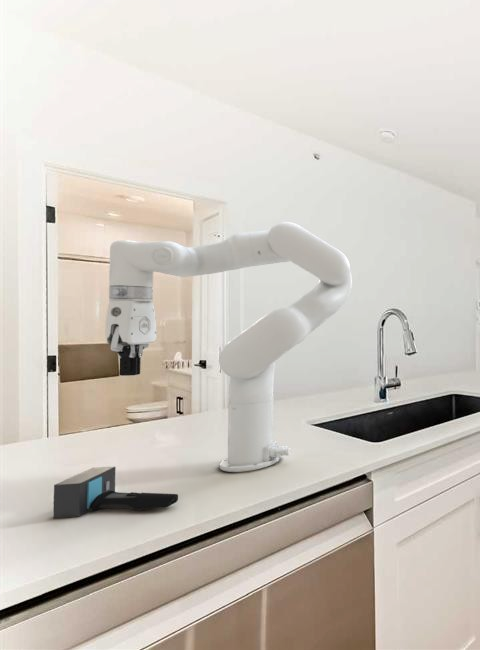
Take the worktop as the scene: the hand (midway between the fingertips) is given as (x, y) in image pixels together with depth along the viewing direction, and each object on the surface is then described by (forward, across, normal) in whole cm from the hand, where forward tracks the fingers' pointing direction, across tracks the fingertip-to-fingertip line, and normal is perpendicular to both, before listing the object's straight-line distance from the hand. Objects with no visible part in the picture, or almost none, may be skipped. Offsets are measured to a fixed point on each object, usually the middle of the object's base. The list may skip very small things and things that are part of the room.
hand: (129, 374), depth 97 cm
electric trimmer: (+23, -19, -13) cm, 33 cm away
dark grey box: (+20, -12, -3) cm, 24 cm away
